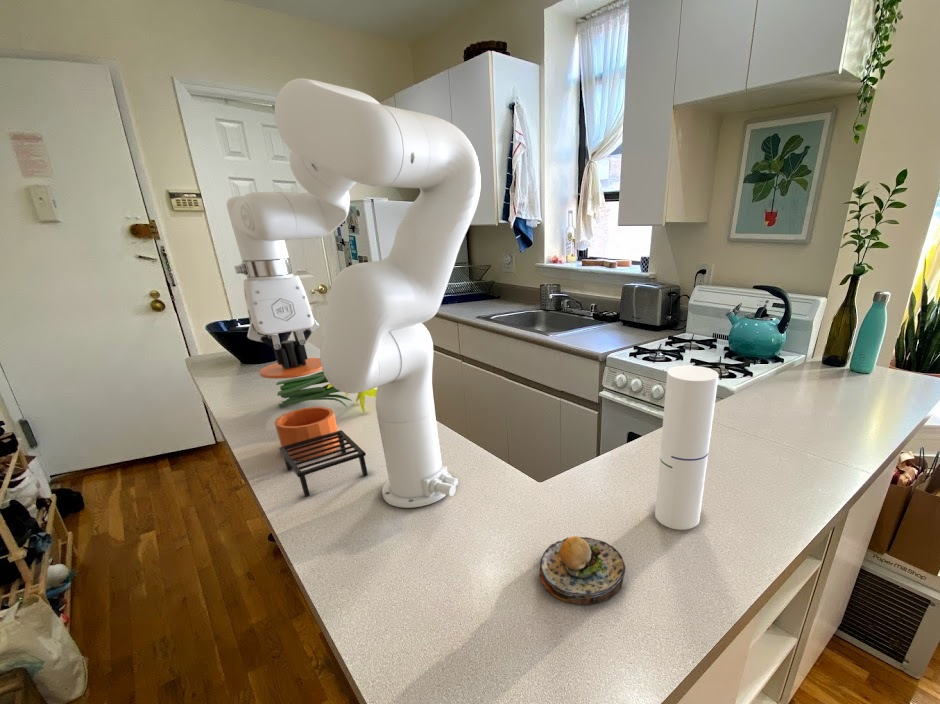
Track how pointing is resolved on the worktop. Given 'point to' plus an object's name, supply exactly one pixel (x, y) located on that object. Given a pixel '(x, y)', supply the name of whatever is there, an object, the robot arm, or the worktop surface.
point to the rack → (341, 438)
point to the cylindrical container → (685, 444)
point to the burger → (582, 570)
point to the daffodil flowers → (315, 391)
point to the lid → (291, 364)
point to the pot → (306, 428)
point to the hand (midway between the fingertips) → (293, 364)
